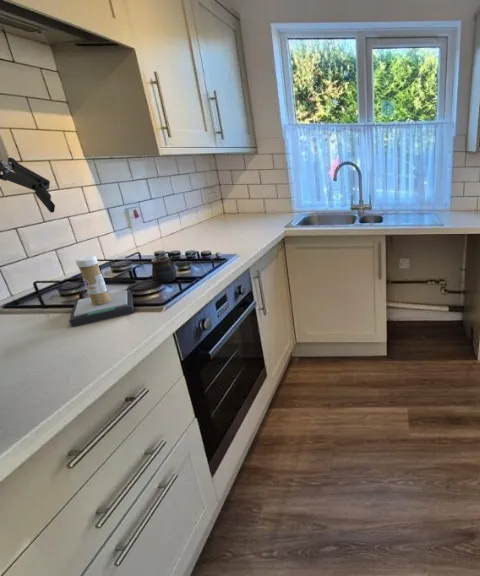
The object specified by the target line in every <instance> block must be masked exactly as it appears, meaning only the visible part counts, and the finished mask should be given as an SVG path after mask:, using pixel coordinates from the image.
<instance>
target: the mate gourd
mask: <svg viewBox="0 0 480 576" xmlns="http://www.w3.org/2000/svg"><path fill="white" fill-rule="evenodd" d="M150 262H151V263H150V264H151V267H152V268H151V274H152V278H153V279H154V281H156V282H157V283H159V284H167V283H170V282H173V281H174V280H176V278H177V269H176V267H175V265H174V264H173V263H172V261H171V257H169V256H156V257H154V258H152V259H151V261H150Z"/></svg>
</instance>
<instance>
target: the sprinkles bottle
mask: <svg viewBox="0 0 480 576" xmlns="http://www.w3.org/2000/svg"><path fill="white" fill-rule="evenodd" d="M75 264H76V266H77V267H78V269H79V271H80V274H81V276H82V277H81V278H82V279H83V283H84V285H85V289H86V291H87V294H88V295H89V296H88V297H90V298H91V301H92V304H93V305H101V304H105V303H107V302H109V301H110V300H111V298H110V297H109V292H108V288H107V286H106V282H105V279H104V277H103V274H102V271H101V269H100V267H99V261H98V259H97V257H96V256H95V255H86V256H82V257H81V256H80V257H78V258H76V259H75Z"/></svg>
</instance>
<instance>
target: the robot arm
mask: <svg viewBox="0 0 480 576" xmlns="http://www.w3.org/2000/svg"><path fill="white" fill-rule="evenodd" d="M0 180H1V181H5V182H7V181H8V182H10V183H13V184H16V185H18V186H21V187H24V188H27V189H29V190H32V191H34V194H35V196H36V197H37V199H39V200H40V202H41V203H42V204H43V205H44V207H45V208H46V209H47V210H48V212H49V213H55V209H56V204H55V203H54V202H53V201H52V194H51V193H50V192H49V191H48V190H49V189H50V187H51V186H50V185H51V182H50V180H49V179H48V178H45V177H43V176H42V175H40V174H38V173H37V172H35V171H33V170H31V169H29V168H27V167H25V166H24V165H22V164H20V163H19V162H18V161H17V160H16V159H14V158H13V157H8V158H7V160H2V161H1V160H0Z"/></svg>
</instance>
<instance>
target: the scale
mask: <svg viewBox="0 0 480 576" xmlns="http://www.w3.org/2000/svg"><path fill="white" fill-rule="evenodd" d="M131 291H132V290H127V289H124V290H119V291H115V292H110V293H109V292H108V294H109V297H110V298H111V300H110V301H109V302H107V303H105V304H101V305H93V304H92V301H91V298H90V296H88V297H85V298H80V299H78V300H77V301H74V304H73V308H72V311H71V313H70V317H69V320H68V322H69V324H70V326H71V328H73V327H77V326H82V325H87V324H91V323H95V322H100V321H104V320H107V319H112V318H117V317H120V316H125V315H129V314H134V294H133V292H131Z"/></svg>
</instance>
